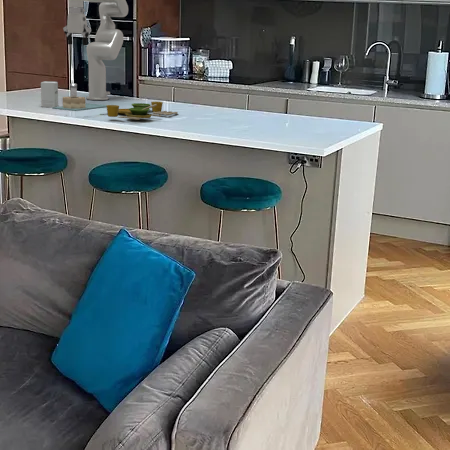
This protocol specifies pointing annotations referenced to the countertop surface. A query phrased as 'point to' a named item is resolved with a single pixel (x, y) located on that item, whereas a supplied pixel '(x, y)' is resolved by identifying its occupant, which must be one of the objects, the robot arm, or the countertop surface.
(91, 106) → the mat
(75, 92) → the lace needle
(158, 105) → the tableware set
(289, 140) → the countertop surface
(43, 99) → the supplement box
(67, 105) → the tan box
